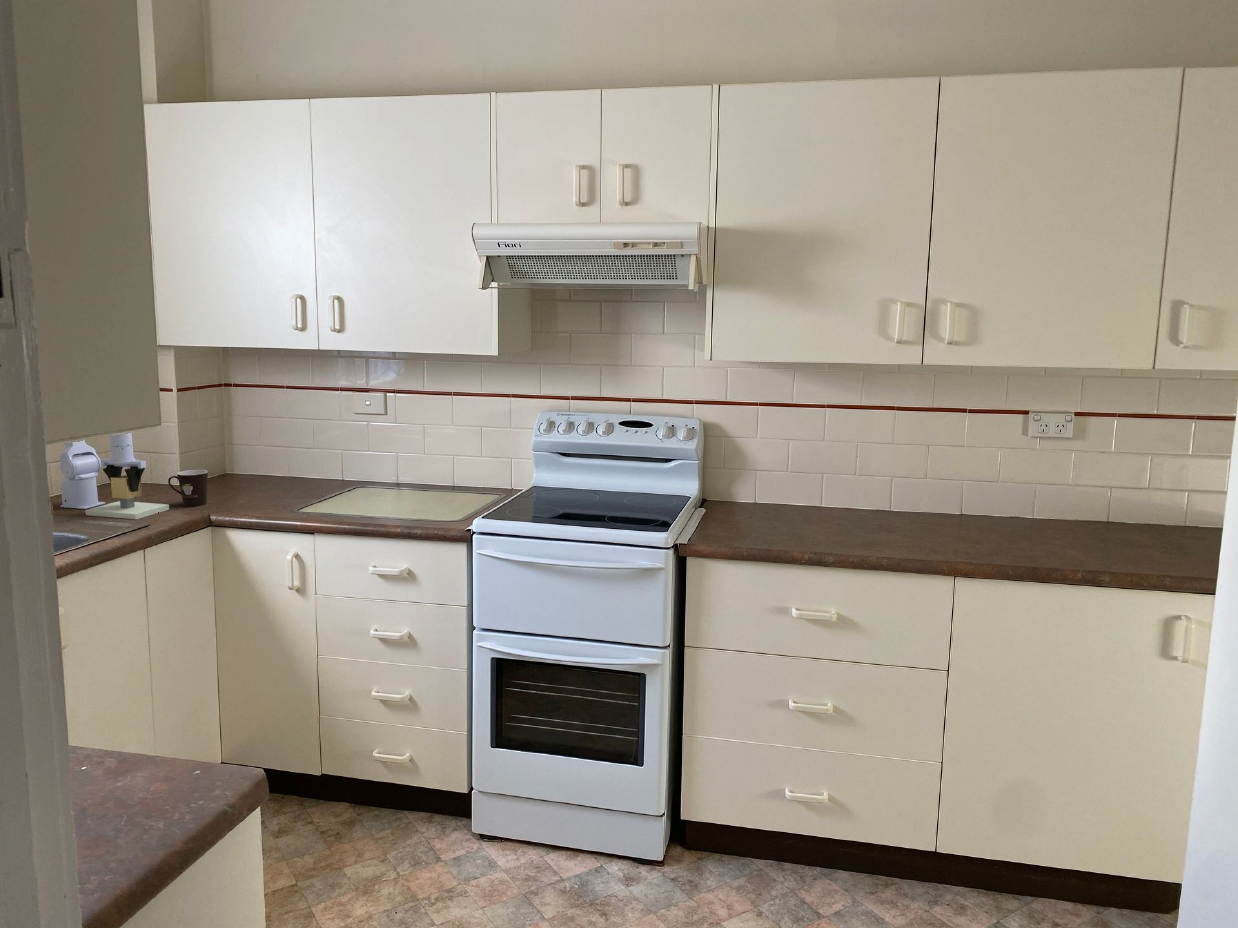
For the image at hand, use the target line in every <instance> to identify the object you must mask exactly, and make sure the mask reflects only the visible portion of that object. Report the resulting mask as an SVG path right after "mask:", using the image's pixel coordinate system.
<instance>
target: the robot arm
mask: <svg viewBox="0 0 1238 928" xmlns="http://www.w3.org/2000/svg"><path fill="white" fill-rule="evenodd" d="M132 435H133V434H132V432H131V433H128V434H120V435H115V436H110V435H109V442H110V453H111V458H102V459H101V458H100V457H99V455H98V454H97V452H96V449H95V448H94V447H93V446H90V445H89V444H87V443H86V441H85V439H84V440H83V441H80V442H73V443H64V446H65V448H64V450H62V451H61V453H60V454H59V455H58V457H59V466H60V468H59V469H60V472H61V474H62V475H63V476H64V477H65V478H63V480H61V483H60V493H61V501H62V504H61V505H60V508H68V509H79V510H80V509H81V510H88V509H92V508H95V507H99V506H103V505H106V502H105V501H99V496H98V494H99V493H98V485H97V477H98V476H99V474H98V473H100V471H101V468H102V467H103V468H102V471H103V472H104V474H105V475H106V476H107V479H108V480H109V482H110V483H111V477H116V476H121V475H123V474H122V472H123V468H125V469H124V473H125V475H127V477H128V480H129V486H130V490H131V492H136V491H138V488H139V482H140V479H141V480H142V476H143V474H144V472H145V470H146V468H147V461H146V460H142V459H141V460H140V459H137V458H135V457H134V456H135V455H134V445H133V436H132Z"/></svg>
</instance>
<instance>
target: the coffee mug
mask: <svg viewBox="0 0 1238 928" xmlns="http://www.w3.org/2000/svg"><path fill="white" fill-rule="evenodd" d="M208 474H209V471H208V470H205V469H191V470H190V469H189V470H183V471H179V472H177V473H176V475H172V476H170V477H169V478H168V480H167V483H168V486H169V487H170V488H171V489H172V490H173V491H175V492H176V493H177V494H179V495H181V499H182V502H183V503H182V504H183V506H184V507H187V508H189V507H191V508H192V507H194V508H195V507H201V506H205V505H207V497H208ZM174 478H175V479H177V480H178V484H179V489H180V490H178V488H175V487H174V485H172V484H171V480H172V479H174Z"/></svg>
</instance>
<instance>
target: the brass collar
mask: <svg viewBox="0 0 1238 928" xmlns="http://www.w3.org/2000/svg"><path fill="white" fill-rule="evenodd" d="M110 484H111V485H110V487H111V498H113V499H120V498H123V499H129V498H137V497H142V496H143V488H142V487H143V486H142V478H141V479H140V482H139V488H138V491H136V492H131V490H130V486H129V480H128V477H127V474H121V476H116V477H111V482H110Z"/></svg>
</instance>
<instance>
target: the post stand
mask: <svg viewBox="0 0 1238 928" xmlns="http://www.w3.org/2000/svg"><path fill="white" fill-rule="evenodd" d="M134 498H135V497H134ZM134 498H129V499H123V498H119V501H114V502H111V503H107V504H102V505H98V506H94V507H91V508H87V509H84V510H85V515H86V516H92V517H104V518H105V517H106V518H117V519H127V520H128V519H129V520H138V519H141V518H146V517H149V516H152V515H156V514H159V513H162V512H166V511H169V510H170V505H169V504H164V503H154V502H153V503H151V502H139V501H135V499H134ZM158 512H159V513H158Z"/></svg>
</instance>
